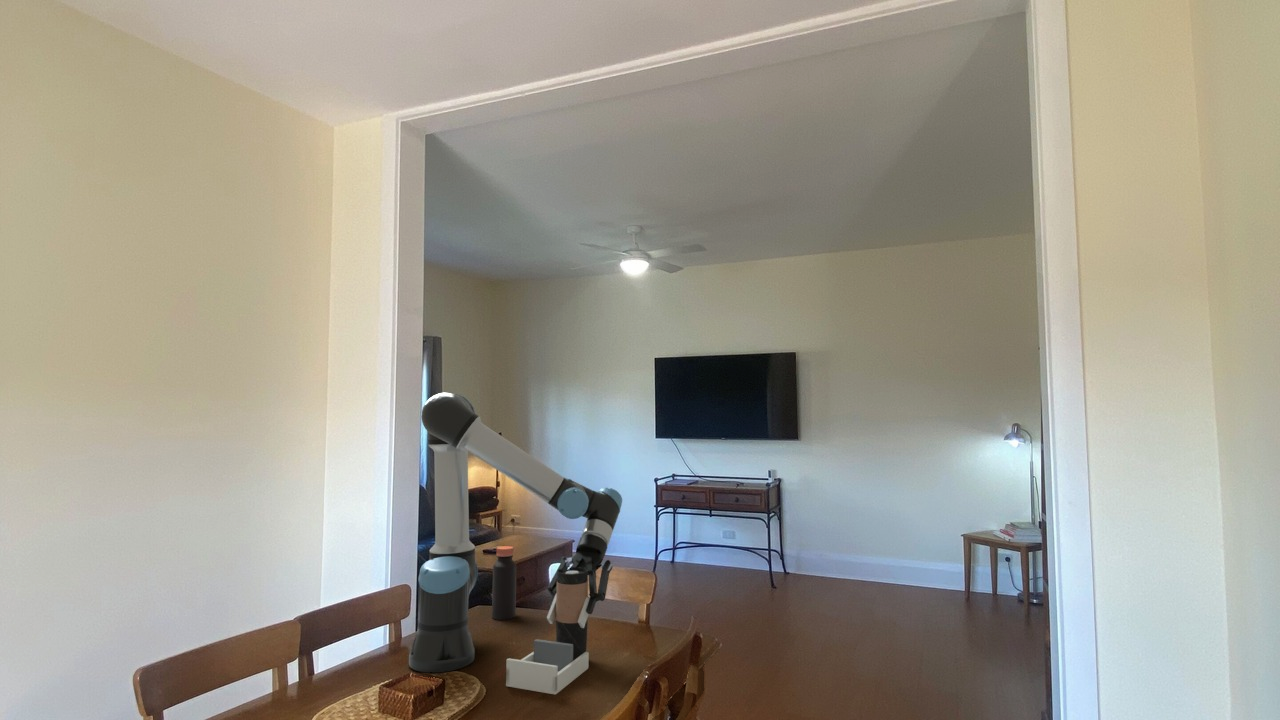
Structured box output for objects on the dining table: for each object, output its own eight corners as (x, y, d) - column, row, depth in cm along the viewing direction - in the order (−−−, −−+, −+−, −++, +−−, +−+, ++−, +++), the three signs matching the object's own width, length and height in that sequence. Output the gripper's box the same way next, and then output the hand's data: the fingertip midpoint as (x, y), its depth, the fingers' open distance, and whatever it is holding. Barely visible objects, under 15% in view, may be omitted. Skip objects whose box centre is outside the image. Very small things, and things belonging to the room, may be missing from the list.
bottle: (487, 616, 194) (489, 547, 196) (507, 612, 198) (509, 544, 200) (499, 622, 189) (500, 550, 191) (519, 617, 193) (521, 547, 195)
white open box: (506, 686, 144) (506, 659, 144) (542, 661, 158) (543, 637, 159) (555, 694, 139) (555, 667, 140) (588, 668, 154) (588, 643, 154)
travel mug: (582, 662, 154) (583, 575, 156) (551, 660, 155) (552, 573, 157) (590, 651, 161) (591, 567, 163) (560, 648, 163) (562, 566, 165)
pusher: (533, 667, 152) (533, 640, 152) (536, 665, 153) (537, 638, 154) (570, 673, 148) (570, 645, 149) (573, 671, 150) (573, 643, 150)
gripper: (634, 552, 171) (608, 636, 155) (564, 546, 178) (532, 626, 162) (626, 535, 166) (599, 619, 150) (555, 530, 174) (522, 610, 157)
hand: (565, 622), depth 156 cm, fingers closed on travel mug, 7 cm apart
